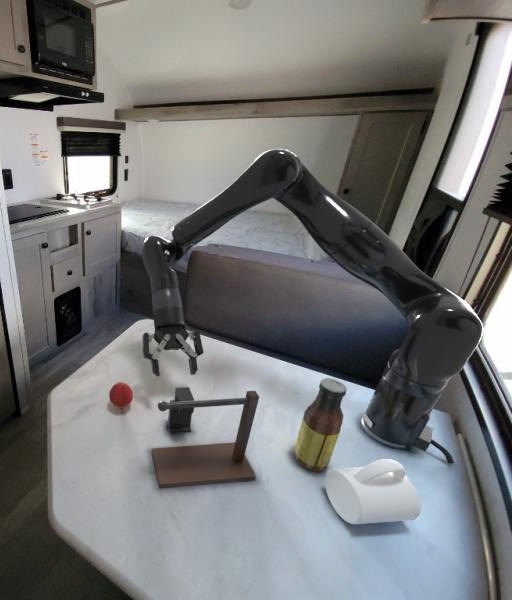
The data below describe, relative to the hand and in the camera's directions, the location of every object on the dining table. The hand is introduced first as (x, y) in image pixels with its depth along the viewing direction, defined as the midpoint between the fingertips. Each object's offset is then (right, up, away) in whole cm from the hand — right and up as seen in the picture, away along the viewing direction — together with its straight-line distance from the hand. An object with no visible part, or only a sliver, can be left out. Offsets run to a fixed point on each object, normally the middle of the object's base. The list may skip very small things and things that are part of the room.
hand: (175, 375), depth 75 cm
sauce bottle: (+26, -16, -9) cm, 32 cm away
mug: (+30, -20, -18) cm, 40 cm away
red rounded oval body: (-13, -9, +5) cm, 17 cm away
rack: (+3, -16, -10) cm, 19 cm away
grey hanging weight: (+1, -12, -2) cm, 13 cm away
